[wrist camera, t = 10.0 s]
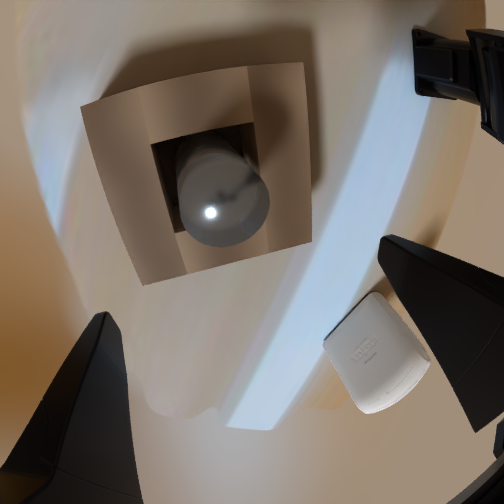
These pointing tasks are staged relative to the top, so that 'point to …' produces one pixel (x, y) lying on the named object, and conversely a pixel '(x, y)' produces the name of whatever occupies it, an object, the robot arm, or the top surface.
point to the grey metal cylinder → (218, 191)
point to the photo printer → (376, 354)
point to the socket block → (193, 121)
